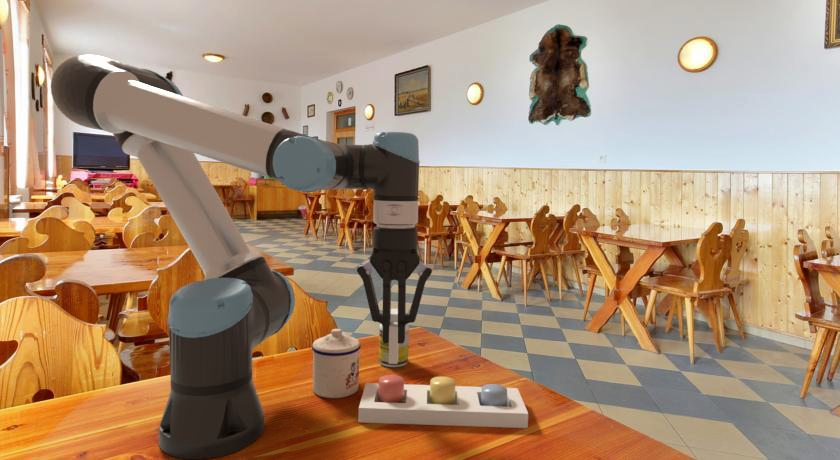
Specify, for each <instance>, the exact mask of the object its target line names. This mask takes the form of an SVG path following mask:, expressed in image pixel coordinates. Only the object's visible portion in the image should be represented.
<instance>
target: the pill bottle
mask: <svg viewBox="0 0 840 460" xmlns="http://www.w3.org/2000/svg"><path fill="white" fill-rule="evenodd" d="M406 314H407V313H406V312H405V315H406ZM390 322H398V308H391V319H390ZM378 333H379V336H378V363H379V364H380V365H381V366H384V367H387V368H400V367H404V366H405V365H407V364H408V361H409V343H410V341H409V340H410V339H409V338H410V326H409V323H408V324H406V325H405V341H404V343H403V344H402V343H398V362H397V364H389V343H383V340H382V338H383V326H382V324H381V323H379V331H378Z"/></svg>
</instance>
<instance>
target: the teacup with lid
mask: <svg viewBox="0 0 840 460" xmlns="http://www.w3.org/2000/svg"><path fill="white" fill-rule="evenodd" d="M360 349H361V343H360V341H359V339H357V338H356V337H354V336H353V337H352V336H351V335H347V334H345V333H343V330H342V329H341V328H332V329H331V332H330V333H329V334H327V335H325V336H322V337H319V338H317V339H315V340H314V342H313V343H312V345H311V350H312V390H313V392H314V394H316V395H317V396H319V397H322V398H326V399H340V398H341V399H342V398H346V397H349V396H352V395H353V394H355V393H356V392H357V391H358V389H359V388H360V387H359V384H360V383H359V382H360V381H359V380H360V375H359V374H360Z"/></svg>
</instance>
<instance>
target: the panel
mask: <svg viewBox="0 0 840 460" xmlns="http://www.w3.org/2000/svg"><path fill="white" fill-rule="evenodd" d="M505 388H506V389H507V405H506V407H502V406H481V393H482V386H469V385H468V386H464V385H459V386H458V385H456V386H455V403H454V405H444V404H431V403H430V384H405V383H404V400H403V402H402V403H385V402H379V400H378V394H379V382H378V383H377V382H375V383H374V382H365V385H364V389H363V392H362V396H361V398H360V402H359V406H358V417H357V418H358V421H357V423H370V424H392V425H394V424H397V425H399V424H400V425H401V424H402V425H425V426H427V425H428V426H431V425H432V426H452V427H455V426H456V427H457V426H458V427H484V428H485V427H486V428H508V429H509V428H514V429H517V428H518V429H528V428H529V427H528V426H529V412H528V410H527V407H526V404H525V403H524V400H523V398H522V396H521V393H520V390H519V389H518V387H505Z"/></svg>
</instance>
